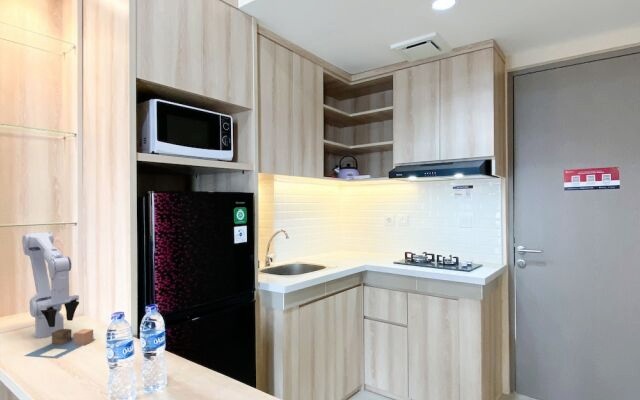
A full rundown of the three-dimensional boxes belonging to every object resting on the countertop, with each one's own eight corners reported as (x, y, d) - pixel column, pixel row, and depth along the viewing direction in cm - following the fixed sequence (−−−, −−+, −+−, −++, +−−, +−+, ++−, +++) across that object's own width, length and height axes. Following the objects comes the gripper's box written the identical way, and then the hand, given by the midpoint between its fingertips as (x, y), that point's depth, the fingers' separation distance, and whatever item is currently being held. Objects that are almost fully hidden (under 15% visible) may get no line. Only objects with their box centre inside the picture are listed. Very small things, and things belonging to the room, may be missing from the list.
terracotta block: (83, 340, 149) (83, 328, 149) (93, 340, 148) (93, 329, 148) (74, 344, 144) (73, 333, 144) (84, 345, 143) (84, 333, 143)
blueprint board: (66, 339, 152) (66, 336, 152) (96, 341, 150) (96, 338, 150) (23, 358, 134) (23, 355, 134) (57, 360, 132) (57, 358, 132)
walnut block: (61, 339, 149) (61, 328, 149) (71, 340, 148) (71, 329, 148) (51, 344, 145) (51, 332, 145) (61, 344, 144) (61, 333, 144)
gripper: (50, 293, 137) (51, 330, 137) (84, 284, 151) (85, 318, 151) (35, 292, 139) (36, 329, 139) (70, 284, 153) (71, 317, 153)
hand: (61, 323), depth 145 cm, fingers open, 7 cm apart
